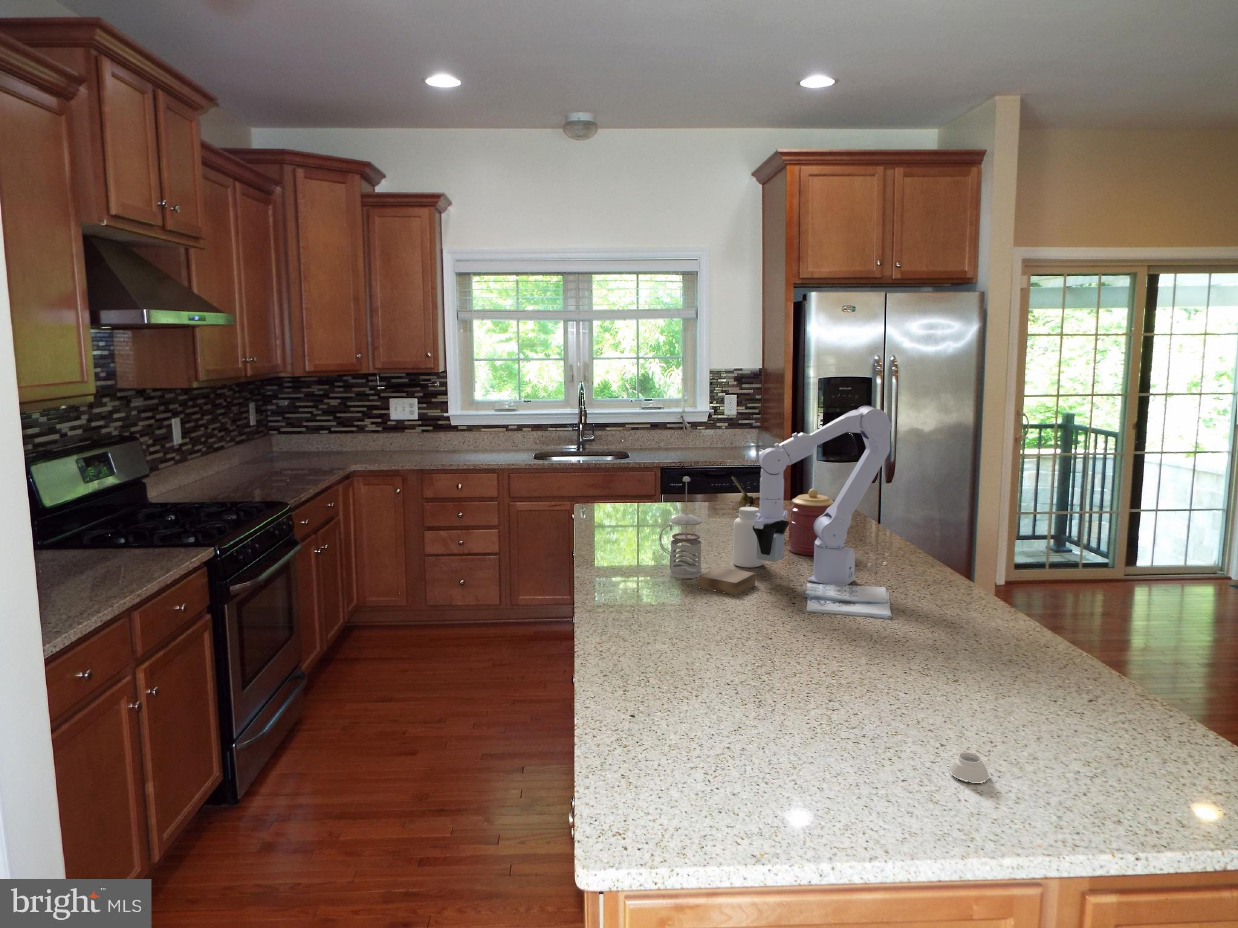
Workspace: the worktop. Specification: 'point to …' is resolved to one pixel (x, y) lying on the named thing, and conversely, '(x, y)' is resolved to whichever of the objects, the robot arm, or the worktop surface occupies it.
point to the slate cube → (773, 549)
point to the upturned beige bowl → (969, 767)
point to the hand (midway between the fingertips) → (770, 551)
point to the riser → (727, 580)
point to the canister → (805, 521)
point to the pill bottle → (745, 539)
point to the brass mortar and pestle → (747, 498)
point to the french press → (684, 547)
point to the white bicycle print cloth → (848, 600)
